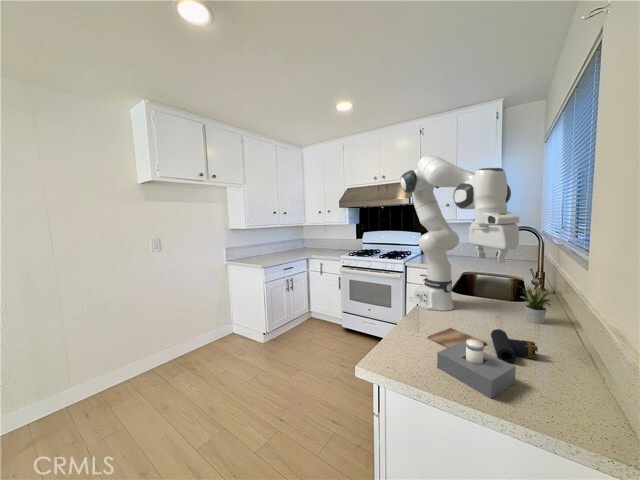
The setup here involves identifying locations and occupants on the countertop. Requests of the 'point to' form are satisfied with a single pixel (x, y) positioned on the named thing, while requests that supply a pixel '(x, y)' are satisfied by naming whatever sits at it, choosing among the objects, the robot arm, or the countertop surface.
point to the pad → (451, 337)
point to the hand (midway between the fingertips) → (490, 260)
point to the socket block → (477, 370)
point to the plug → (474, 351)
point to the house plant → (536, 305)
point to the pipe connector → (512, 347)
